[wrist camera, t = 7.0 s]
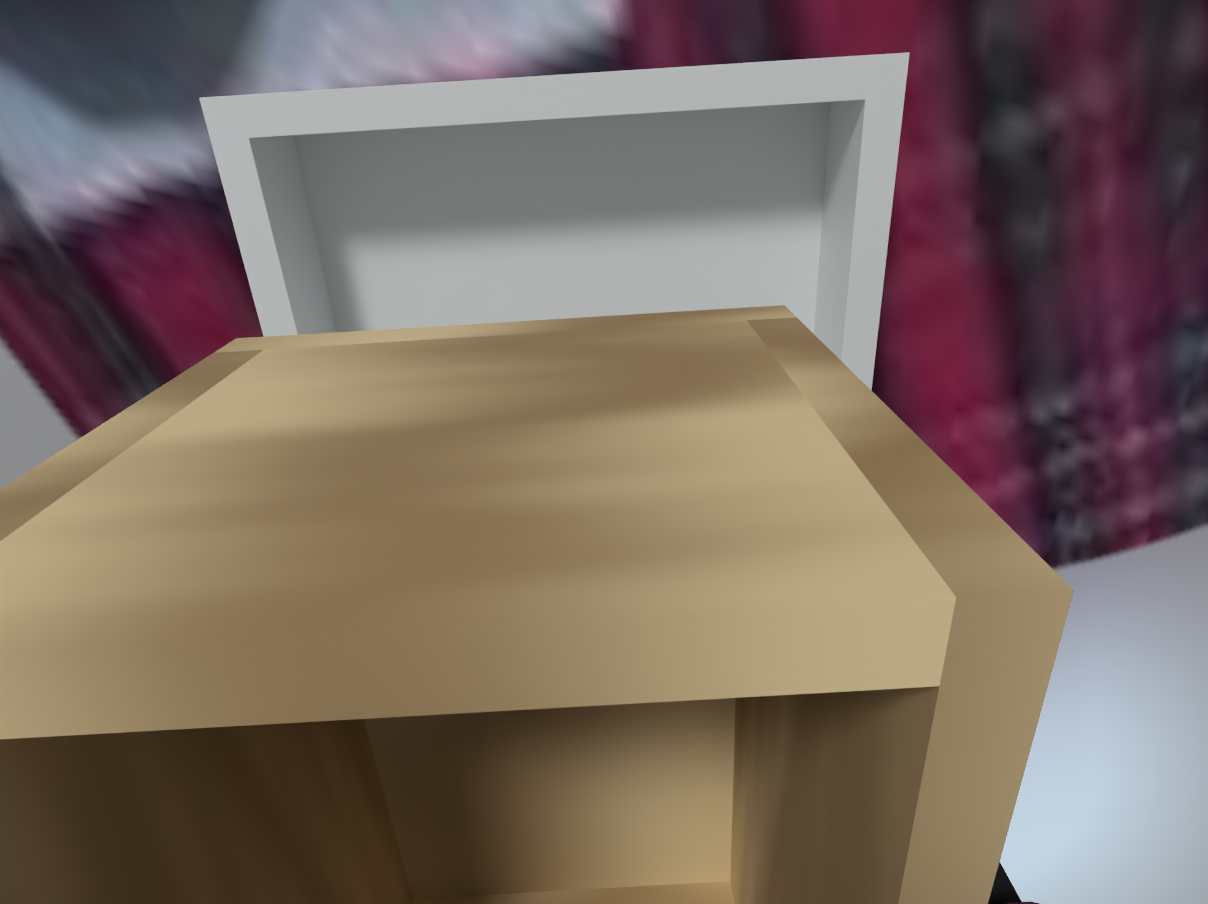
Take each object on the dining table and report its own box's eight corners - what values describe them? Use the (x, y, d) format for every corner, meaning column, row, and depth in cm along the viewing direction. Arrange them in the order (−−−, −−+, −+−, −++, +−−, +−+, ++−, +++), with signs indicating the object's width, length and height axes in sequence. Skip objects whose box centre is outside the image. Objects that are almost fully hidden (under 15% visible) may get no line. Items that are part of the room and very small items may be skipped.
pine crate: (785, 304, 9) (1072, 590, 4) (755, 869, 14) (862, 1359, 8) (236, 338, 9) (-281, 667, 4) (393, 889, 14) (267, 1388, 8)
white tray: (856, 61, 22) (909, 52, 18) (815, 539, 29) (847, 601, 25) (264, 99, 22) (198, 97, 18) (373, 563, 29) (342, 627, 26)
